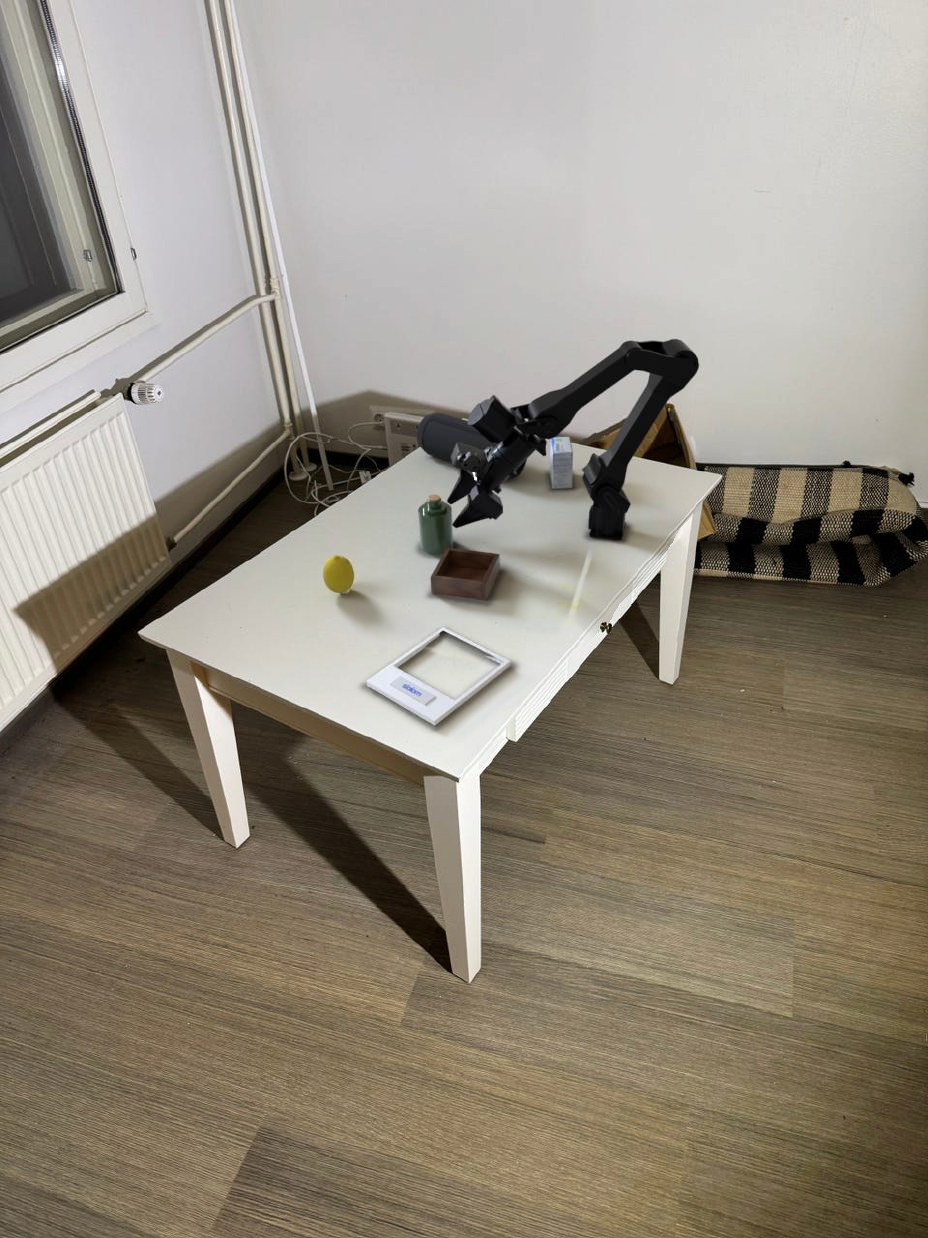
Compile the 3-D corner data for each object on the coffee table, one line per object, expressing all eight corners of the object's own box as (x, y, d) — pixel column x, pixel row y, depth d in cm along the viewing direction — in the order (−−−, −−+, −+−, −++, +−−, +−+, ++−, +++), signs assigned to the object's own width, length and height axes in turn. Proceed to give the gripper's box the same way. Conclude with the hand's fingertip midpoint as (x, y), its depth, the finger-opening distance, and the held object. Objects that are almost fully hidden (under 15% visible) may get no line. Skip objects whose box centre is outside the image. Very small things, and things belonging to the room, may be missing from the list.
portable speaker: (415, 459, 202) (412, 418, 196) (443, 443, 208) (441, 404, 202) (502, 489, 189) (502, 447, 183) (529, 472, 195) (530, 431, 189)
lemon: (351, 603, 157) (346, 565, 152) (321, 600, 158) (315, 563, 153) (360, 585, 161) (355, 548, 156) (331, 583, 162) (326, 546, 157)
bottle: (460, 545, 171) (458, 495, 165) (438, 559, 167) (435, 509, 161) (435, 535, 175) (432, 485, 168) (414, 549, 171) (410, 498, 164)
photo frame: (366, 680, 138) (442, 626, 148) (366, 685, 138) (443, 631, 149) (434, 720, 130) (510, 660, 140) (434, 725, 130) (510, 665, 141)
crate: (499, 571, 163) (499, 553, 161) (486, 602, 155) (485, 584, 153) (447, 565, 166) (446, 547, 163) (431, 595, 158) (430, 577, 155)
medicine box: (572, 489, 188) (573, 452, 183) (551, 489, 188) (552, 452, 183) (569, 472, 194) (570, 436, 189) (549, 472, 195) (549, 436, 189)
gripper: (469, 409, 165) (415, 468, 171) (483, 452, 150) (423, 515, 156) (510, 444, 170) (457, 500, 176) (528, 489, 155) (469, 548, 161)
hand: (451, 514), depth 167 cm, fingers open, 9 cm apart
